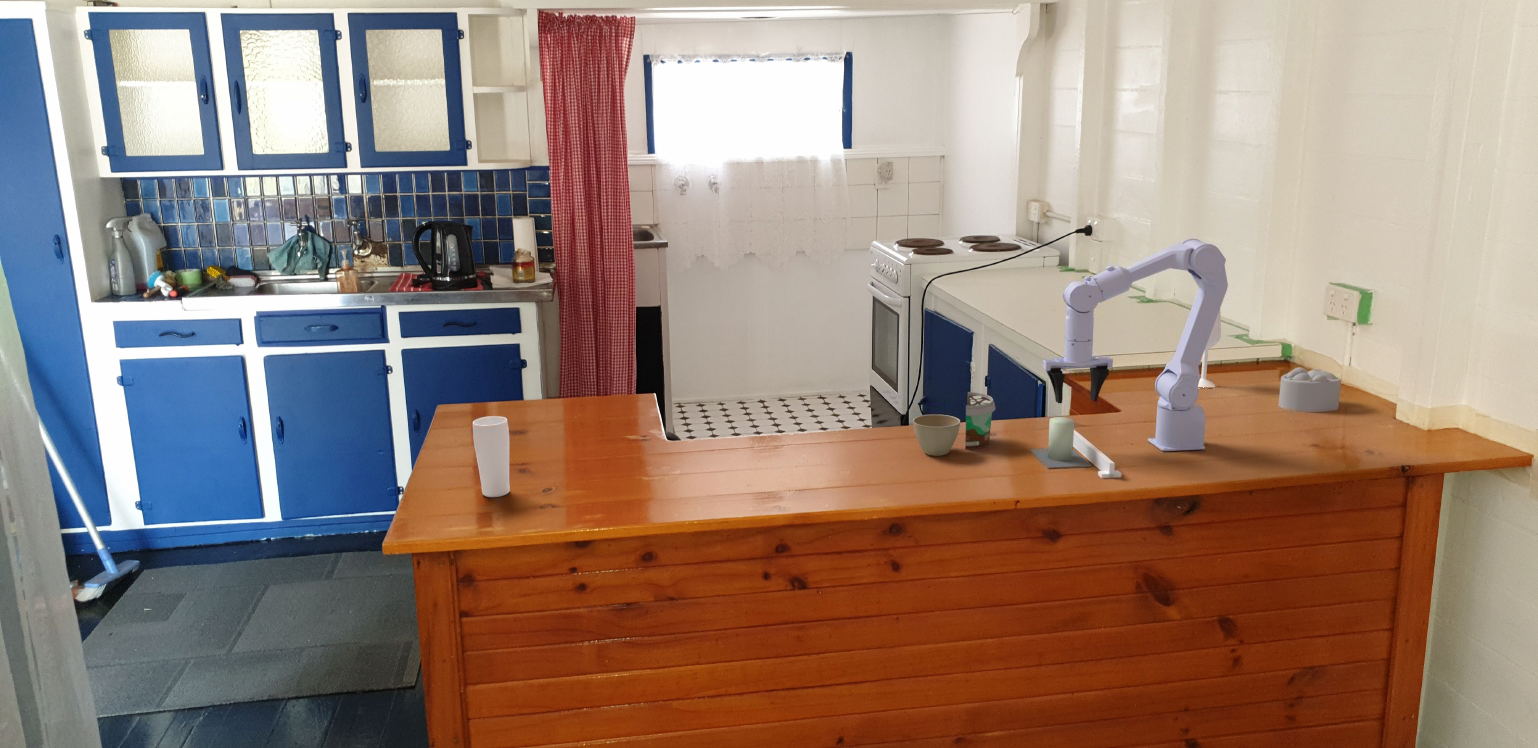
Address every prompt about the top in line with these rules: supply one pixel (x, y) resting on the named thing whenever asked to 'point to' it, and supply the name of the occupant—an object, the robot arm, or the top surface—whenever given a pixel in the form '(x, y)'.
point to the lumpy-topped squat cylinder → (1309, 391)
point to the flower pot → (936, 433)
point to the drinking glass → (492, 454)
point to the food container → (978, 420)
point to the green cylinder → (1061, 438)
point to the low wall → (1095, 457)
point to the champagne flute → (1211, 342)
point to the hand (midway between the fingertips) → (1076, 401)
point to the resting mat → (1053, 464)
